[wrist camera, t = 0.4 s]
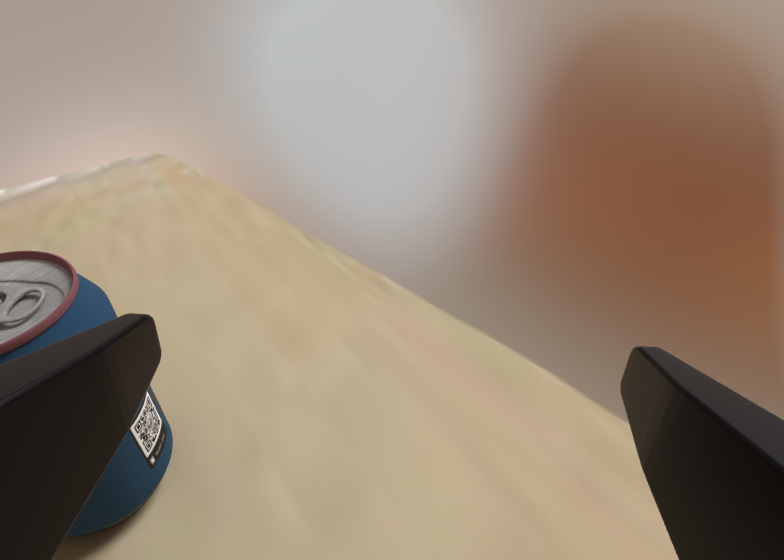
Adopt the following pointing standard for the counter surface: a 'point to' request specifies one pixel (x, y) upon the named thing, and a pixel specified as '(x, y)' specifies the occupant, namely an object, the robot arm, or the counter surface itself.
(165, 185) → the counter surface
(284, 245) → the counter surface
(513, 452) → the counter surface
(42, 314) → the soda can
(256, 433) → the counter surface
